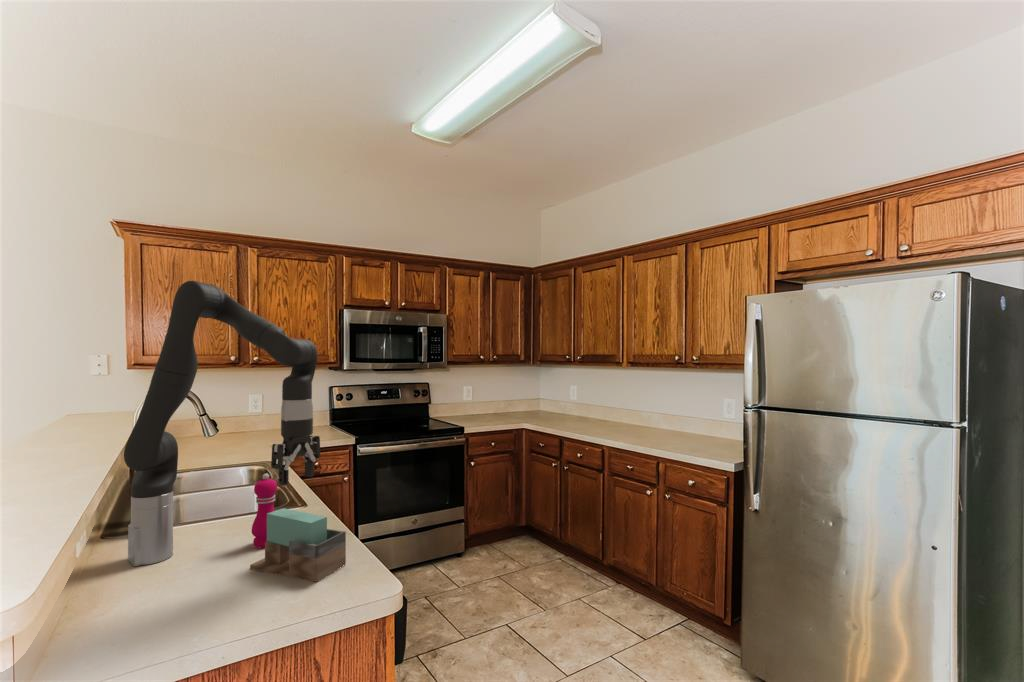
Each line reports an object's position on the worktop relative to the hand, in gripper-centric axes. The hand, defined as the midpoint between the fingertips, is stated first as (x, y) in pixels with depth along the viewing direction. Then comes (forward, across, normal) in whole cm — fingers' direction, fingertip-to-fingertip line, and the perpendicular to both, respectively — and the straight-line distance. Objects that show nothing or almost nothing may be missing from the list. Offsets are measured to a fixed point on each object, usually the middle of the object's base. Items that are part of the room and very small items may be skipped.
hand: (296, 480), depth 130 cm
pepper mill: (+22, -9, -20) cm, 31 cm away
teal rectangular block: (+16, 0, 0) cm, 16 cm away
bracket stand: (+22, 0, 0) cm, 22 cm away
